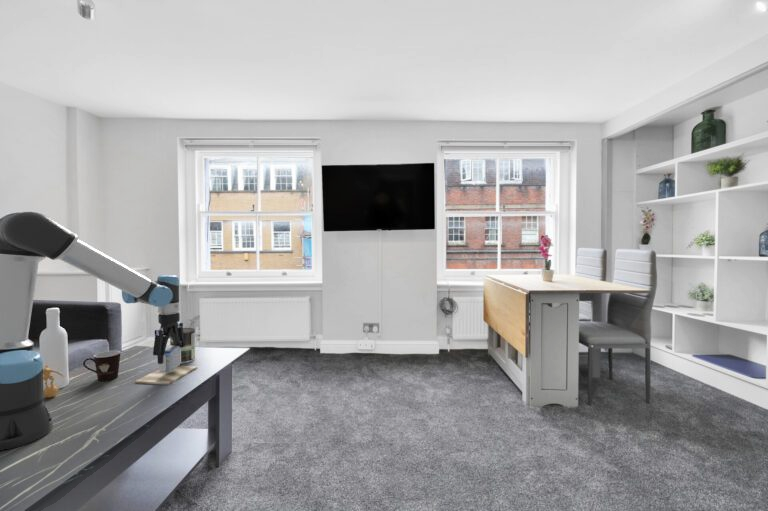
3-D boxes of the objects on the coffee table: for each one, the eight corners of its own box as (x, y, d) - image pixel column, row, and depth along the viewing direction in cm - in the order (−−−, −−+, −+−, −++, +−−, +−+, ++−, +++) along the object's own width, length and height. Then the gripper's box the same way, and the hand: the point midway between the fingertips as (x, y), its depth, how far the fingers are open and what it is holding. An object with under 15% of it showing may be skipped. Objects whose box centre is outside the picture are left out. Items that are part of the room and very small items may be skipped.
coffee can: (182, 365, 161) (182, 334, 160) (164, 362, 164) (164, 332, 163) (200, 357, 171) (200, 328, 170) (183, 355, 174) (183, 326, 173)
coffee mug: (126, 374, 149) (126, 351, 148) (108, 383, 140) (108, 357, 140) (100, 373, 150) (100, 349, 150) (81, 381, 141) (80, 356, 141)
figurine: (68, 393, 131) (67, 360, 130) (60, 399, 125) (59, 366, 125) (39, 396, 128) (37, 363, 127) (29, 403, 122) (28, 369, 122)
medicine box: (169, 365, 152) (168, 345, 152) (180, 365, 153) (180, 345, 152) (159, 372, 144) (159, 351, 144) (171, 372, 145) (170, 351, 144)
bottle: (64, 381, 142) (62, 305, 141) (72, 385, 138) (70, 308, 136) (37, 388, 135) (34, 309, 134) (44, 392, 131) (42, 311, 130)
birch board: (168, 384, 139) (168, 382, 139) (135, 383, 141) (135, 381, 141) (197, 368, 157) (197, 366, 157) (167, 366, 158) (167, 365, 158)
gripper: (158, 318, 137) (160, 377, 138) (193, 308, 158) (194, 358, 159) (140, 318, 137) (141, 376, 138) (177, 307, 158) (178, 358, 159)
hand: (170, 366), depth 149 cm, fingers closed on medicine box, 8 cm apart
